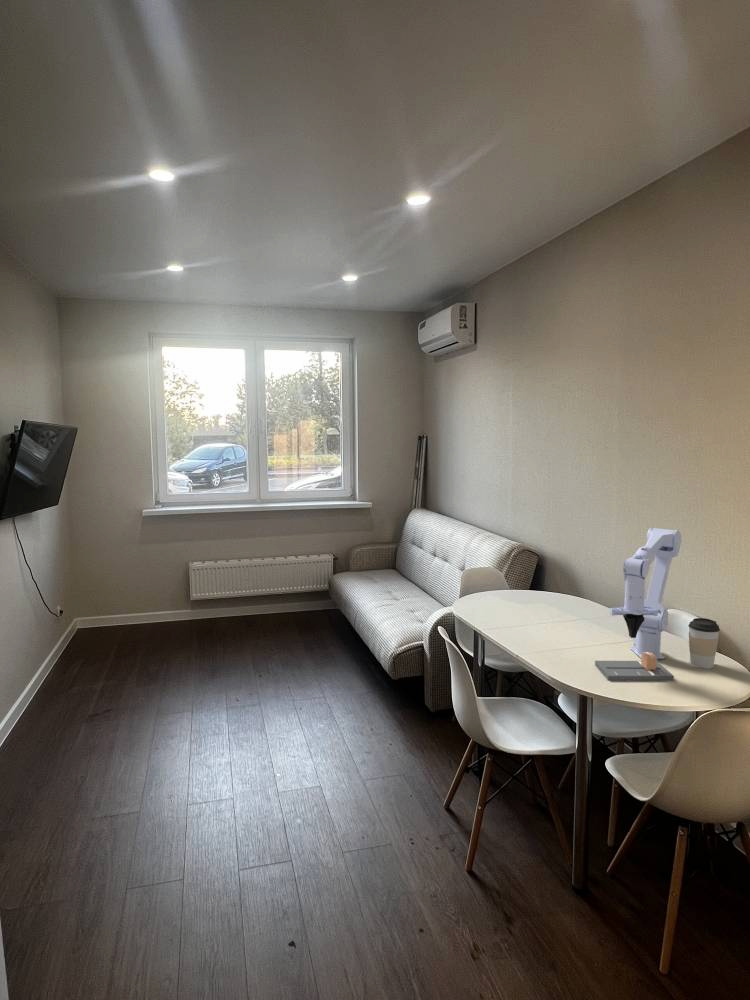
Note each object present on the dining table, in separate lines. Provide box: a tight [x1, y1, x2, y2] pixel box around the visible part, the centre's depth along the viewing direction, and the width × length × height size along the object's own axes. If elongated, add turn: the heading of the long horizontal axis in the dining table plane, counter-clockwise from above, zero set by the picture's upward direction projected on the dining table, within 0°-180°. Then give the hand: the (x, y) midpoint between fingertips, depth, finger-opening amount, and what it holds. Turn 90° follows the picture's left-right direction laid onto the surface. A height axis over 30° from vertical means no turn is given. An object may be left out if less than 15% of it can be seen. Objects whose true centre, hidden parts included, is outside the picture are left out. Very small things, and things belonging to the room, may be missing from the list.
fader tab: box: [640, 652, 658, 670], centre depth 190 cm, size 4×3×4 cm
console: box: [594, 660, 675, 682], centre depth 191 cm, size 12×20×2 cm, turn 88°
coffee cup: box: [688, 617, 721, 669], centre depth 196 cm, size 9×9×15 cm
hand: (632, 636), depth 193 cm, fingers closed
